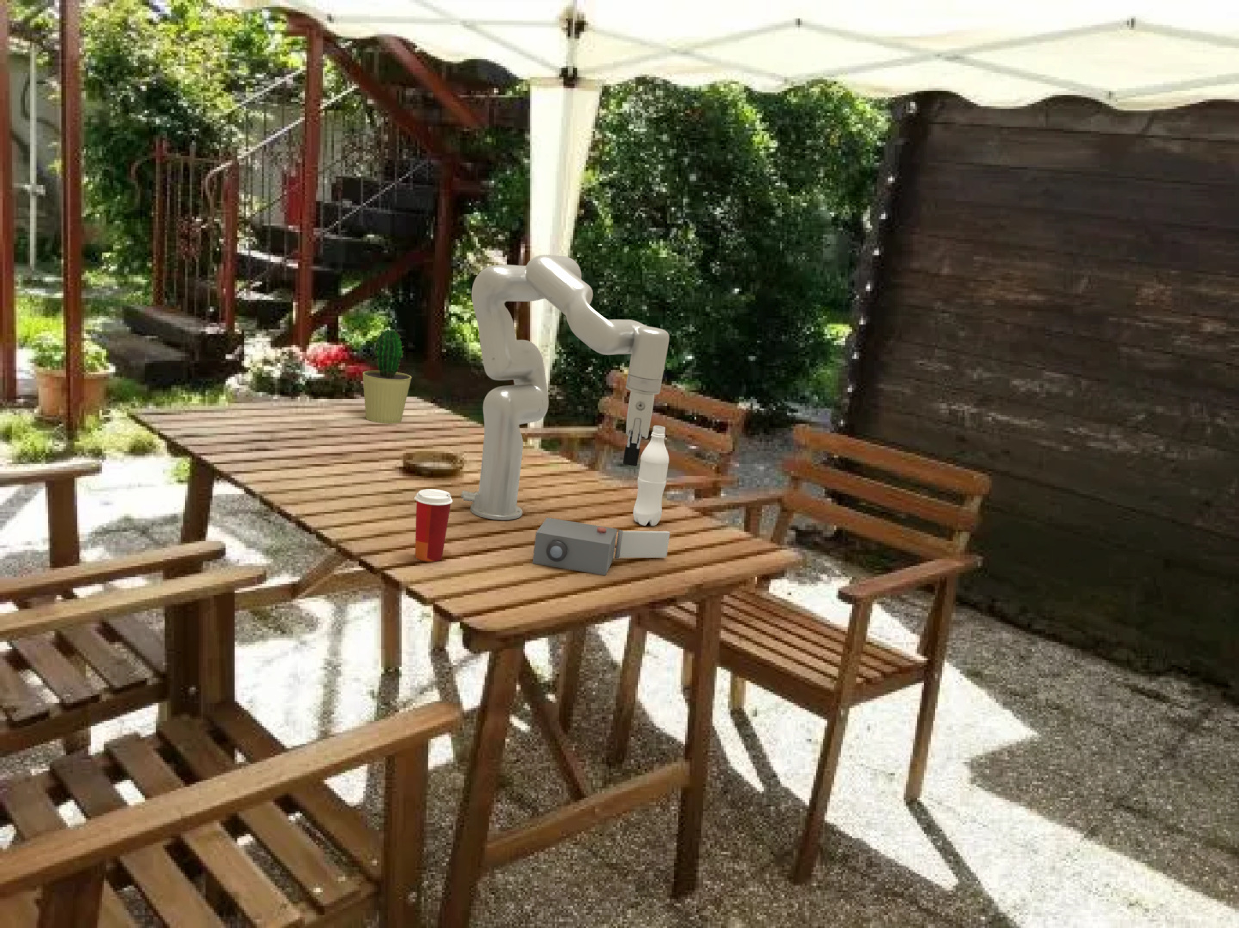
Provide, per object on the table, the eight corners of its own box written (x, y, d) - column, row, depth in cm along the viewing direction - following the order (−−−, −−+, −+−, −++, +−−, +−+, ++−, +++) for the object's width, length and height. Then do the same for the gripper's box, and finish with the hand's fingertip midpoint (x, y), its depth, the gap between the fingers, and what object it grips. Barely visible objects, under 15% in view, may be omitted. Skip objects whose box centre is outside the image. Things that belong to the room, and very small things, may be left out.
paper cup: (449, 553, 228) (455, 490, 225) (444, 565, 221) (450, 500, 218) (412, 549, 228) (417, 486, 225) (406, 561, 220) (412, 496, 217)
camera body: (531, 565, 228) (535, 530, 226) (543, 547, 241) (547, 514, 239) (604, 577, 226) (609, 542, 224) (613, 558, 239) (617, 525, 237)
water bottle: (643, 517, 275) (656, 422, 269) (665, 525, 270) (679, 429, 265) (626, 521, 269) (639, 424, 263) (648, 529, 265) (662, 431, 259)
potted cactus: (417, 422, 349) (425, 331, 342) (384, 426, 336) (391, 332, 330) (383, 412, 357) (390, 323, 350) (349, 416, 344) (355, 324, 337)
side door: (666, 558, 243) (670, 531, 242) (615, 558, 238) (619, 531, 237) (663, 555, 245) (666, 529, 243) (612, 555, 240) (616, 528, 239)
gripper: (660, 393, 225) (646, 476, 230) (660, 380, 240) (646, 458, 244) (625, 387, 225) (611, 470, 230) (627, 375, 240) (614, 453, 244)
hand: (629, 464), depth 237 cm, fingers closed
